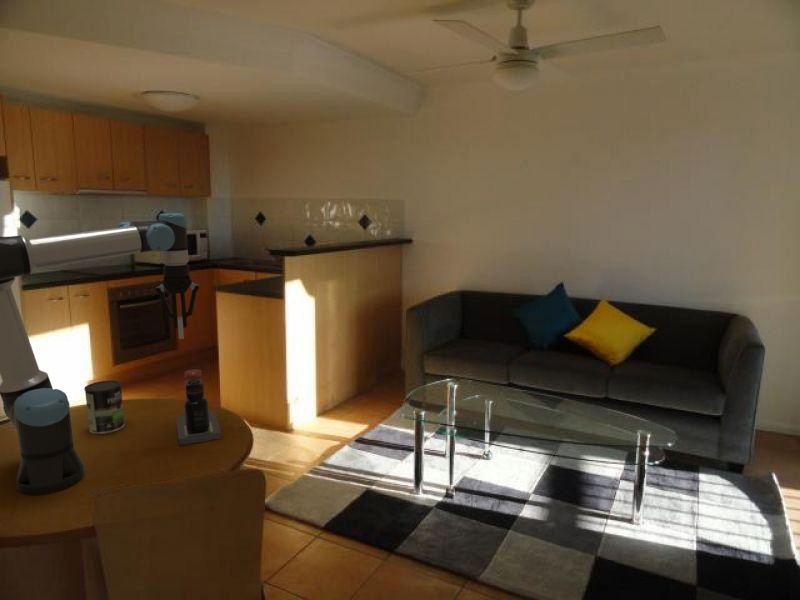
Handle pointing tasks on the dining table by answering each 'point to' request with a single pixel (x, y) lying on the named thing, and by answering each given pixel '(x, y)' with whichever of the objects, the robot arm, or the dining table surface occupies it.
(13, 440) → the dining table surface
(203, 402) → the supplement bottle
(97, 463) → the dining table surface
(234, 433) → the dining table surface
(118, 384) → the coffee can
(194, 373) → the plunger
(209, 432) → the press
